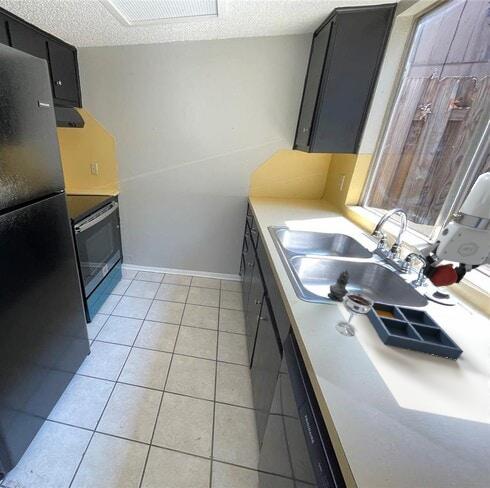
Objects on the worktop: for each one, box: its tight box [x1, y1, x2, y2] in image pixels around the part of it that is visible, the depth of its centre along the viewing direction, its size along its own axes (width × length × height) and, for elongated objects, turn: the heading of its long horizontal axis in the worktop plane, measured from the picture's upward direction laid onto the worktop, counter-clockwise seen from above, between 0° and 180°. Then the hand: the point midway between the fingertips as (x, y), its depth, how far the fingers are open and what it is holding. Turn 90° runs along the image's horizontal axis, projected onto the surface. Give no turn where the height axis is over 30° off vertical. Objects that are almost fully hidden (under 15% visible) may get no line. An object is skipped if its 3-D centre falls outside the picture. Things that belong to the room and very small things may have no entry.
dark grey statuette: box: [327, 269, 351, 303], centre depth 92 cm, size 6×6×12 cm
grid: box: [365, 300, 464, 361], centre depth 80 cm, size 17×17×4 cm
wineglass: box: [335, 291, 374, 337], centre depth 77 cm, size 7×7×12 cm
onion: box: [428, 262, 457, 288], centre depth 75 cm, size 6×6×8 cm
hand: (440, 278), depth 76 cm, fingers closed on onion, 5 cm apart
